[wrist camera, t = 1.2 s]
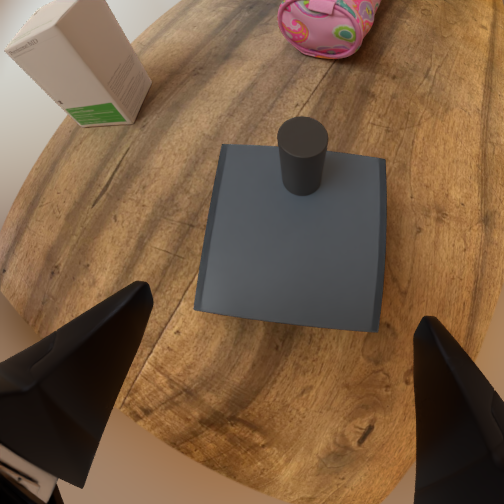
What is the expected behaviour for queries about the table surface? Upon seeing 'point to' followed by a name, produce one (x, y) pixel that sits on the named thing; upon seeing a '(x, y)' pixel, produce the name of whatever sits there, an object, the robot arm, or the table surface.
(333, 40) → the pencil case
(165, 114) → the table surface
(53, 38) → the cosmetic box
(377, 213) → the grey box with peg
